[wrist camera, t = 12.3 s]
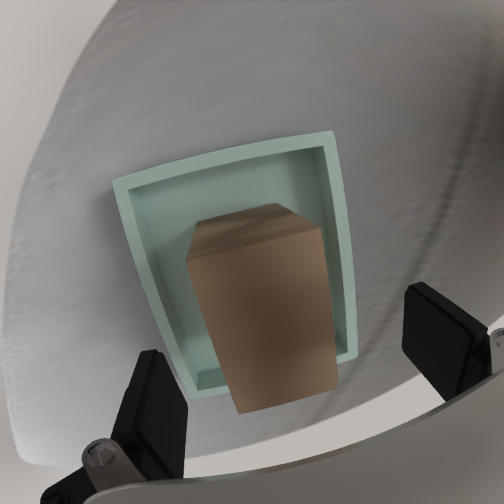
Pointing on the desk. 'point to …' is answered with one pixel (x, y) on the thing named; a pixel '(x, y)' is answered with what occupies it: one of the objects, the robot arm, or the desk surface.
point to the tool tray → (221, 203)
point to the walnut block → (266, 304)
